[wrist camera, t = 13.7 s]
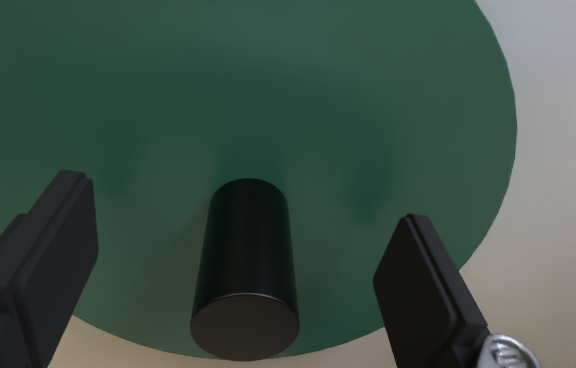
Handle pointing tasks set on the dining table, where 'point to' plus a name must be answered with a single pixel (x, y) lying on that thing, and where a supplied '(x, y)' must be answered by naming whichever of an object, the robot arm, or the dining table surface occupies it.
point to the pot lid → (254, 155)
